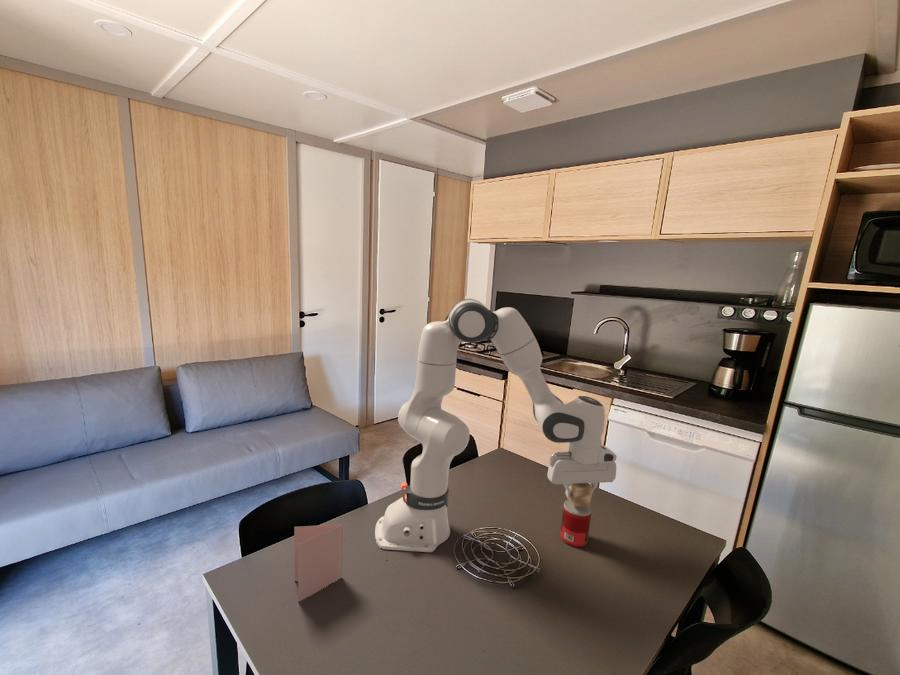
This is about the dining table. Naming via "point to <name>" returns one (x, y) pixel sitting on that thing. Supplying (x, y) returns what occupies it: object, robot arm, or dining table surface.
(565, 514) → the canned food
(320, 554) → the greeting card
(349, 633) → the dining table surface
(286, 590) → the dining table surface
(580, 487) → the oak block
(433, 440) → the robot arm
